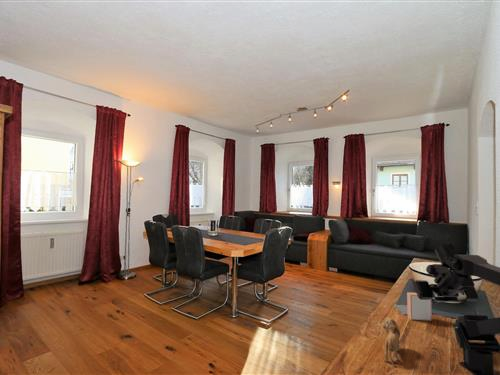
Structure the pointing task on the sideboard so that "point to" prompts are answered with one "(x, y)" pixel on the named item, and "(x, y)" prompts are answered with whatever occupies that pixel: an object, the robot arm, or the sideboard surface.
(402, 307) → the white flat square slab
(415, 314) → the tile
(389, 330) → the dog figurine
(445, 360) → the sideboard surface
